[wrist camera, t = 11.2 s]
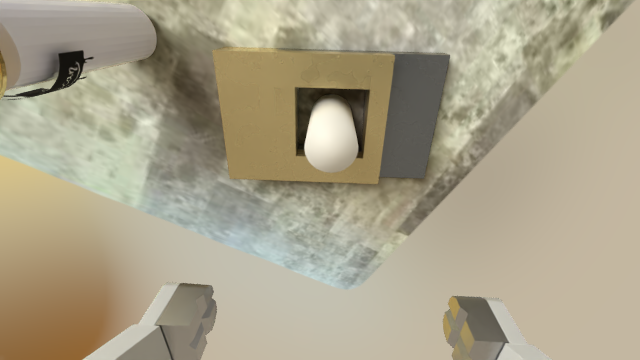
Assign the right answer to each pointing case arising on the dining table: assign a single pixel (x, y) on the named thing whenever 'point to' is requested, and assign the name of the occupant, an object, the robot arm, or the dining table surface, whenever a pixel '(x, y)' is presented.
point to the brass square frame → (327, 72)
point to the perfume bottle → (68, 41)
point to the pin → (331, 135)
